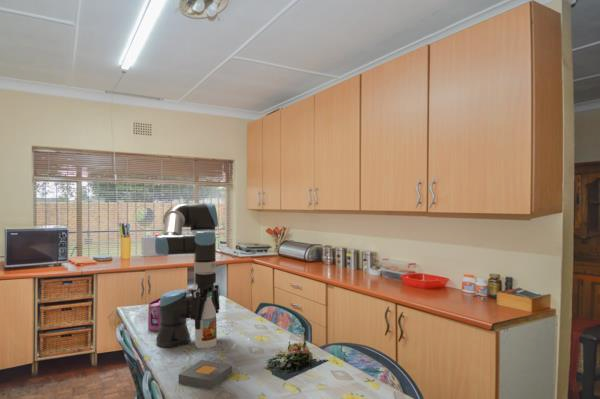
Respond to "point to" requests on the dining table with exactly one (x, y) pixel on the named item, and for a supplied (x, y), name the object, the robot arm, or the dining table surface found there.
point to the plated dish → (293, 361)
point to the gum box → (154, 315)
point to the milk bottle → (208, 325)
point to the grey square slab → (204, 379)
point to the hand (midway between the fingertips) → (205, 333)
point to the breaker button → (206, 369)
